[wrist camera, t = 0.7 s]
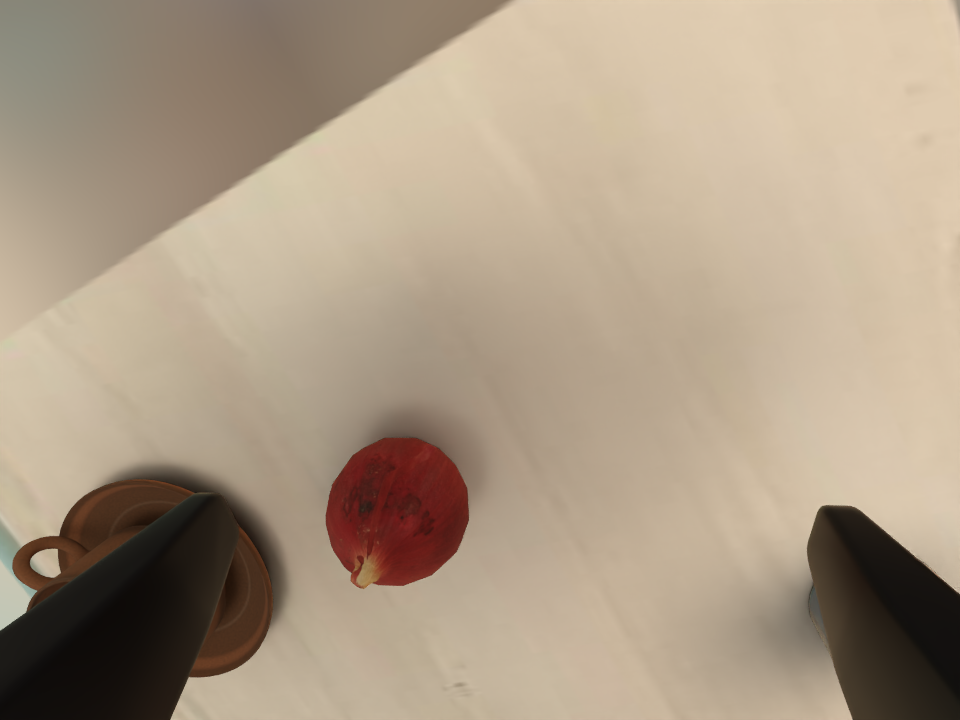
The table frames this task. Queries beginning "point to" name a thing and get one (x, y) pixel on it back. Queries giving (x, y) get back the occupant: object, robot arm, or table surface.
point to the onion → (396, 512)
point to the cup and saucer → (121, 516)
